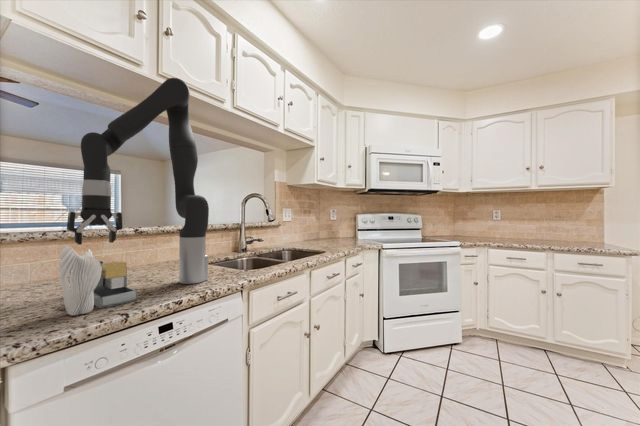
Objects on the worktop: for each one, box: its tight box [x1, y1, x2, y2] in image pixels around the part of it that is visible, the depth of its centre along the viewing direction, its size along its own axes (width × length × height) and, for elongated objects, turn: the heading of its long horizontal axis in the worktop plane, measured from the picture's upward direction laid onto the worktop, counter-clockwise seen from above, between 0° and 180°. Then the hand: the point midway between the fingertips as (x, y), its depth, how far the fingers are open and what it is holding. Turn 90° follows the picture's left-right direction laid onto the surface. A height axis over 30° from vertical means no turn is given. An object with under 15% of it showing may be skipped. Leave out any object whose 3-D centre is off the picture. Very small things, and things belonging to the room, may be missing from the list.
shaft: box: [98, 260, 124, 289], centre depth 87 cm, size 3×21×8 cm, turn 54°
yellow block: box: [101, 260, 127, 279], centre depth 82 cm, size 5×4×4 cm
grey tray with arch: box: [93, 266, 138, 310], centre depth 84 cm, size 9×14×9 cm, turn 54°
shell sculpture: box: [58, 245, 102, 317], centre depth 73 cm, size 8×8×18 cm
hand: (95, 243), depth 92 cm, fingers open, 8 cm apart
